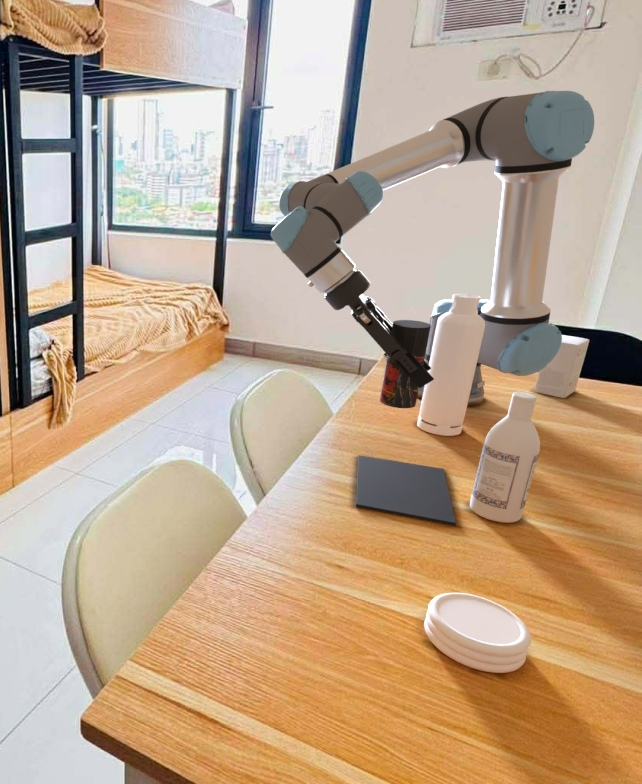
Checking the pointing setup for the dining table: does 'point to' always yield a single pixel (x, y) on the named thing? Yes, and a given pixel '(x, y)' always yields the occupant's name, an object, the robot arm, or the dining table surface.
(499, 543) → the dining table surface
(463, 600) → the coaster
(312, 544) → the dining table surface
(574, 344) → the small box
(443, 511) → the mat
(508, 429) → the bath foam
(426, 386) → the bottle
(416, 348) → the deodorant
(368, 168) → the robot arm
